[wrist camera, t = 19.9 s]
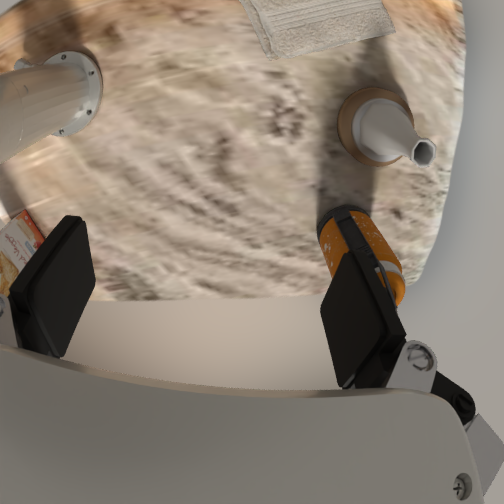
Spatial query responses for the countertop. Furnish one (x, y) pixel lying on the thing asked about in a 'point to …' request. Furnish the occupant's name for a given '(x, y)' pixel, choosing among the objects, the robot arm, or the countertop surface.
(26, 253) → the cracker box
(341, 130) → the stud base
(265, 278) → the countertop surface
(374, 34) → the washcloth
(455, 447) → the robot arm
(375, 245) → the canister
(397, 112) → the flask
